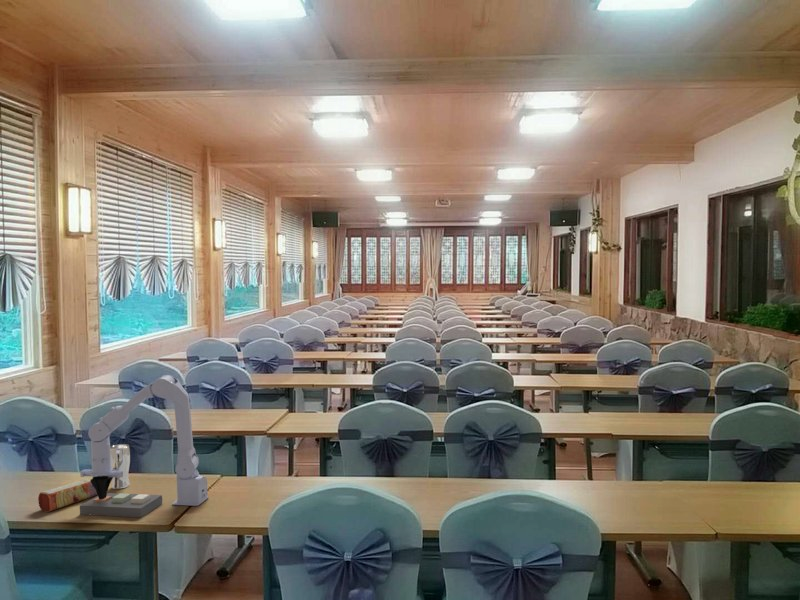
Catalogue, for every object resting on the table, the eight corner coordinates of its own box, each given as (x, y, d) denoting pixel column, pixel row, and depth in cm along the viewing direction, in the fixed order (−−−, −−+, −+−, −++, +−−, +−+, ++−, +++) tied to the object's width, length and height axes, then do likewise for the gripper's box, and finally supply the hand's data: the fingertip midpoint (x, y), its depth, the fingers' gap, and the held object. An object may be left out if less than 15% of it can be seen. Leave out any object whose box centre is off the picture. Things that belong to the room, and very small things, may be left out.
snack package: (96, 491, 219) (95, 472, 218) (107, 493, 215) (107, 475, 215) (37, 511, 200) (36, 490, 200) (49, 514, 197) (48, 493, 197)
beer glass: (123, 490, 218) (121, 449, 218) (106, 489, 220) (104, 448, 219) (135, 483, 225) (133, 444, 225) (118, 483, 226) (117, 443, 226)
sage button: (130, 502, 201) (130, 493, 201) (123, 507, 197) (123, 498, 197) (120, 502, 201) (119, 493, 201) (112, 506, 197) (112, 497, 197)
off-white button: (150, 503, 199) (149, 494, 199) (142, 507, 196) (142, 498, 195) (139, 503, 200) (138, 494, 200) (131, 507, 196) (131, 498, 196)
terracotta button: (112, 504, 202) (111, 496, 202) (104, 509, 198) (104, 500, 198) (101, 504, 203) (101, 495, 202) (93, 508, 199) (93, 499, 198)
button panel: (162, 503, 203) (162, 495, 203) (141, 517, 191) (141, 508, 191) (104, 501, 207) (103, 492, 207) (79, 514, 195) (79, 505, 195)
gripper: (73, 460, 197) (74, 501, 197) (113, 462, 195) (114, 503, 195) (87, 454, 204) (89, 494, 204) (126, 455, 202) (127, 495, 202)
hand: (102, 498), depth 200 cm, fingers closed, pressing on terracotta button
